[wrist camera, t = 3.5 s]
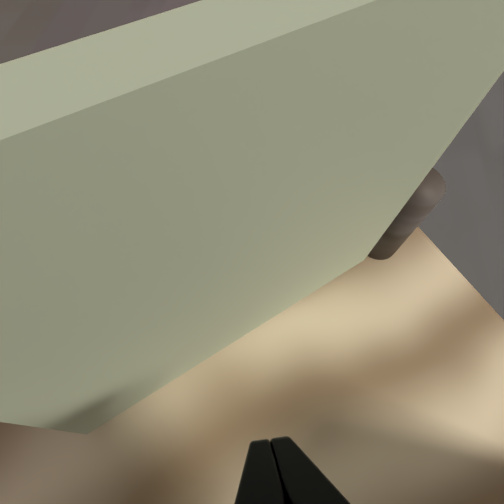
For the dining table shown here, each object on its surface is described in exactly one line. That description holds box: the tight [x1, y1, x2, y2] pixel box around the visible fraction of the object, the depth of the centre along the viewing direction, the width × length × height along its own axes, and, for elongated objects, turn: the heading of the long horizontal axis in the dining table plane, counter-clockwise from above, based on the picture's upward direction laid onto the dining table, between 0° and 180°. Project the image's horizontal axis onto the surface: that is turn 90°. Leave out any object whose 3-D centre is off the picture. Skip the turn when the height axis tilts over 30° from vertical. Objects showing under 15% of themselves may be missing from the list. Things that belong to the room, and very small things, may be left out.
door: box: [0, 0, 504, 434], centre depth 11 cm, size 3×14×14 cm, turn 123°
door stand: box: [0, 168, 504, 504], centre depth 14 cm, size 16×22×6 cm
